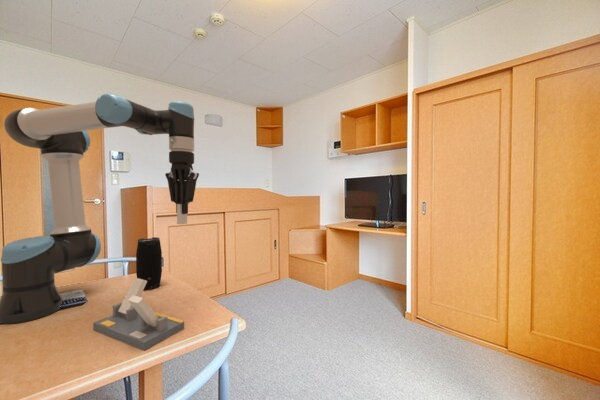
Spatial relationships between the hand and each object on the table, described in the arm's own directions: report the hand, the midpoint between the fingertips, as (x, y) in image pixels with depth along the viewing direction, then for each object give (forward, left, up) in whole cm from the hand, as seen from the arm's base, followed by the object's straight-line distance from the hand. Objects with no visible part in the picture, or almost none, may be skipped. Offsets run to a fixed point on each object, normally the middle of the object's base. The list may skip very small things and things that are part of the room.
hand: (182, 223), depth 90 cm
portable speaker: (-28, +8, -29) cm, 41 cm away
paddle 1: (-6, -15, -25) cm, 30 cm away
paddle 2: (+7, -15, -25) cm, 30 cm away
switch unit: (0, -15, -28) cm, 32 cm away
